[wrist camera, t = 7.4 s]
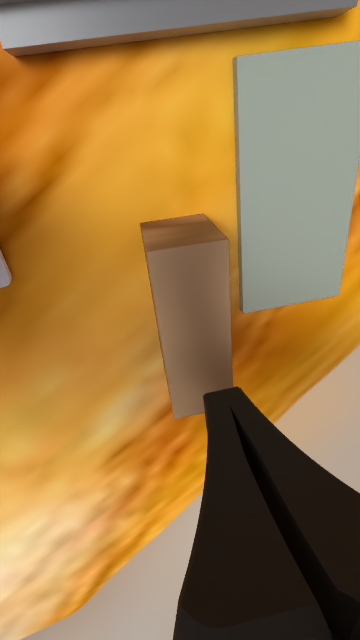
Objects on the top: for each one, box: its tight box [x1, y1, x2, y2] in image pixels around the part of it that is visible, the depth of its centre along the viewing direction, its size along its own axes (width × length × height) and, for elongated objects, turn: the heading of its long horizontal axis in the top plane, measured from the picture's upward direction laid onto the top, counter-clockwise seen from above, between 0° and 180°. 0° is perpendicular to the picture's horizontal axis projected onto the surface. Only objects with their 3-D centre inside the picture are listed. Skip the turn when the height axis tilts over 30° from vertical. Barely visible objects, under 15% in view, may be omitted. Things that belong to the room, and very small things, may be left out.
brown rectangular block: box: [140, 214, 233, 419], centre depth 18 cm, size 4×10×5 cm, turn 6°
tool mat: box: [233, 40, 360, 314], centre depth 18 cm, size 6×13×1 cm, turn 7°
